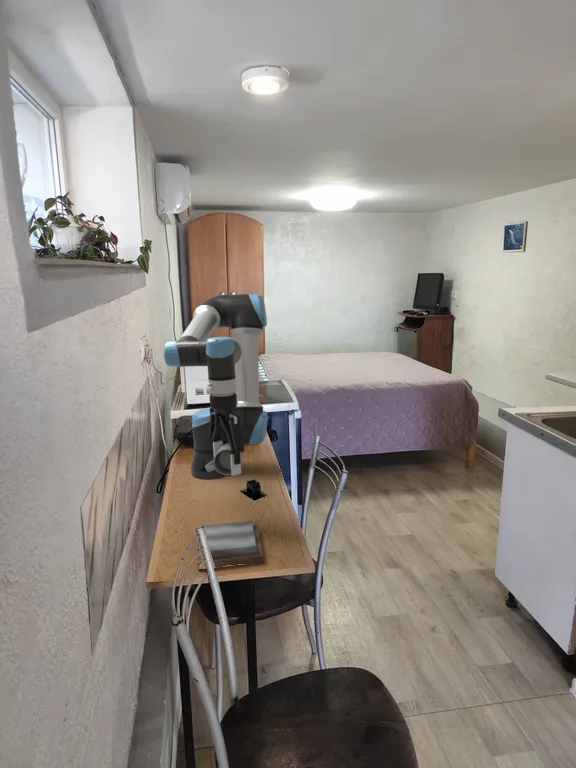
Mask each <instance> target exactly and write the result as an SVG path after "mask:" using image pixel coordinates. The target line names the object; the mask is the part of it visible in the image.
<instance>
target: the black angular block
mask: <svg viewBox="0 0 576 768" xmlns="http://www.w3.org/2000/svg"><path fill="white" fill-rule="evenodd" d="M245 485H246V486H245V488H244V489H241V490H239V492H240V493H241V494H243V495H244V496H246V497H248V498H249V499H250V500H252V501H253V500H254V502H257V501H258V499H259V500H261V499H260V498H262V497H265V496H267V495H268V494H267V493H265V494H264V492H263V491H262V489H261V483H260V482H259V481H257V480H256V479H255V478H254V479H251V480H248V481H246V484H245ZM251 498H252V499H251ZM265 498H266V497H265ZM262 499H263V498H262Z"/></svg>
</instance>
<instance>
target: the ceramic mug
mask: <svg viewBox="0 0 576 768" xmlns="http://www.w3.org/2000/svg"><path fill="white" fill-rule="evenodd" d="M230 452H232V451H231V448H230V444H229V443H227V444H224V445H223V446H221V447H220V449H219V450H218V452H217V453H216V454H215V456H214V459H213V460H212V461H211V462H209V463H208V464H207V465H206V466H205V468H206V470H207V471H208V472H210V471H213V470H215V469H216V471H217V472H219V473H220V474H223V475H225V476H230V475H231V459H230ZM240 458H241V461H242V460H243V452H241V453H240ZM231 476H232V475H231Z"/></svg>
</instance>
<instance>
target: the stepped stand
mask: <svg viewBox="0 0 576 768" xmlns="http://www.w3.org/2000/svg"><path fill="white" fill-rule="evenodd" d="M204 528H205V531H206V535H207V540H208V545H209V548H210V551H211V555H212V558H213V562H214V564H215V567H216V568H215V569H218V568H217V567H223V566H227V565H238V564H249V565H253V564H252V563H258V564H263V563H264V553H263V549H262V544H261V543H262V542H261V539H260V532H259V527H258V523H255V524H254V523H253V520H247V521H246V520H245V521H236V522H226V523H217V524H216V523H215V524H206V525H203V529H204ZM198 548H199V547H198V546H197V549H198ZM201 563H202V559H201V555H200V556H199V557H198V556H197V568H198V567H199V565H200V564H201ZM250 563H251V564H250ZM223 568H224V567H223Z"/></svg>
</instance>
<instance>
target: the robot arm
mask: <svg viewBox="0 0 576 768" xmlns="http://www.w3.org/2000/svg"><path fill="white" fill-rule="evenodd" d="M192 318H193V319H191V321H190V323H189V324H188V326H187V327H186V328H185V330H184V331H183V333H182V335H181V336H180V337H179V339H178V340H169V341H167V342H166V343H165V345H164V346H163V347H164V348H163V358H164V362H165V364H166V365H167V366H168V367H178V368H181V367H185V368H187V367H207V377H208V383H207V387H208V392H209V406H210V407H206V408H203V409H200V410H197V411H195V412H194V413H193V415H192V417H191V418H192V419H191V427H192V439H193V440H192V441H193V448H194V449H193V451H194V452H193V456H192V461H191V463H190V474H191V475H192V476H193V477H194V478H197V479H203V480H205V479H206V480H207V479H208V480H209V479H210V480H211V479H213V480H214V479H218V478H219V479H220V478H223V477H225V476H226V475H223V474H220V473H219V472H217V471H216V469H215V470H213V471H210V472H208V471H207V470H206V468H205V466H206V465H207V464H208V463H209V462H211V461H212V460H213V459H214V456H215V454H216V453H217V452H218V450H219V449H220V447H221V446H223V445H224V444H227V443H229V444H230V448H231V451H232V452H230V459H231V476H232V477H233V476H236V475H238V476H239V475H241V474H242V460H241V458H240V453H241V452H242V453H244V452H245V450H246V449H245V445H249V446H250V445H259V444H260V445H261V444H262V443H263V442H264V440H265V438H266V434H267V427H268V415H269V414H268V412H267V411H265V410H264V406H263V404H262V403H260V386H259V385H260V381H259V380H260V379H259V377H260V375H259V371H260V368H259V364H260V363H259V360H260V359H259V355H260V354H259V346H260V345H259V344H260V343H259V337H260V335H261V334H262V333H263V331H264V330H263V329H264V328H265V327H267V325H268V320H267V319H268V317H267V311H266V306H265V301H264V298H263V297H262V295H260V294H258V293H257V294H253V293H252V294H251V293H244V294H243V293H242V294H241V293H240V294H219V295H215V296H212V297H209V298H208V299H206V300H204V301H203V302H202V303H201V304H199V305H198V306H197V307H196V308H195V310H194V311H193V315H192ZM263 327H264V328H263ZM218 328H230V332H231V333H232V334H233V336H234V338H232V337H230V336H215V337H210V336H211V334H212V332H213V331H214V330H216V329H218Z"/></svg>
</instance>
